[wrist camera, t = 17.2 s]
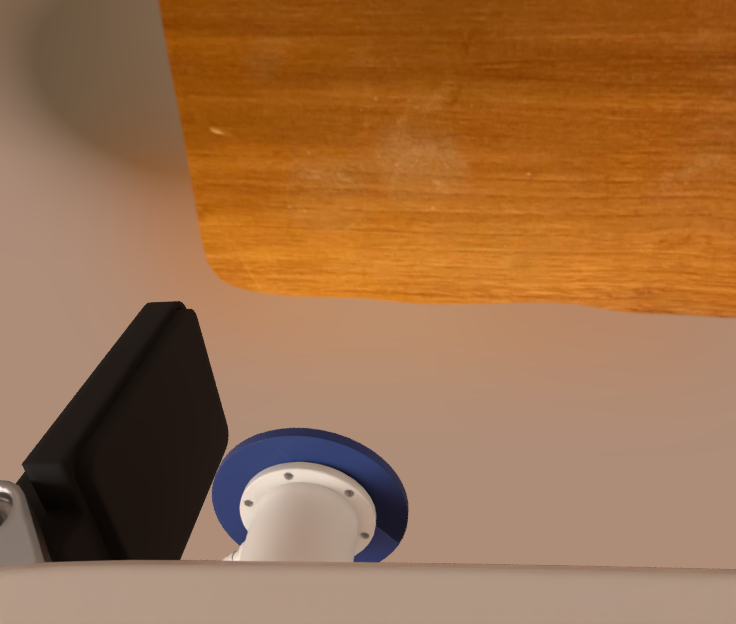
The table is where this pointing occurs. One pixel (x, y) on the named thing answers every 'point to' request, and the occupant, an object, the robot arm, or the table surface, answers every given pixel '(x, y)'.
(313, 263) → the table surface
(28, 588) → the robot arm
